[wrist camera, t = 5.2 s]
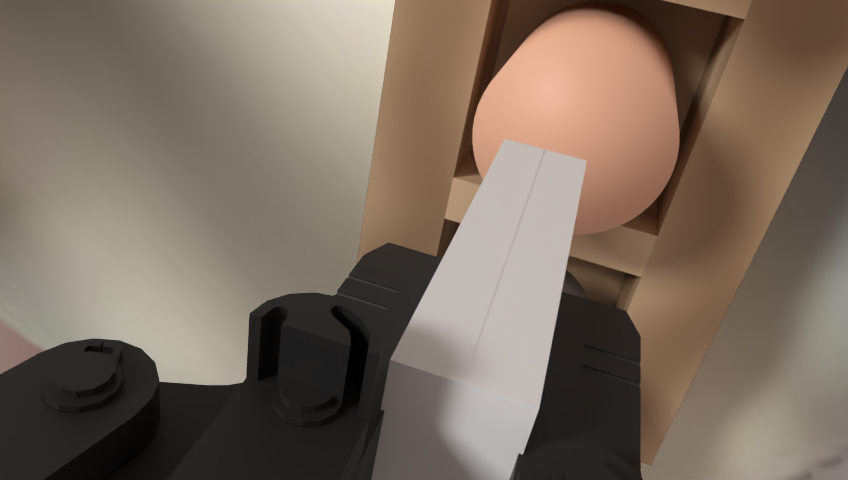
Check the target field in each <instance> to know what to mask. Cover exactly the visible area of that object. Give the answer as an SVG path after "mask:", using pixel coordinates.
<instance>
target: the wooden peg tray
mask: <svg viewBox="0 0 848 480" xmlns="http://www.w3.org/2000/svg"><path fill="white" fill-rule="evenodd" d="M592 1H597V2H609V3H615V4H618V5H621V6H625V7H627V8H629V9H631V10H633V11H635V12H637V13H638V14H640V15H642V16H643V17H644V18H646V19H647V20H648V21H649V22H650V23H651V24H652V25H653V26H654V27H655V28H656V29H657V31H658V32H659V33H660V35H661V36H662V38H663V39H664V41H665V43H666V45H667V48H668V50H669V53H670V56H671V60H672V66H673V74H674V84H675V93H676V103H677V113H678V122H679V132H680V134H679V150H678V157H677V161H676V164H675V167H674V170H673V173H672V175H671V177H670V179H669V181H668V183H667V185H666V186H665V188H664V189H663V191H662V192H661V194H660V195H659V196H658V197H657V198H656V200H655V201H654V202H653V203H652V204H651V205H650V206H649V207H648V208H647V209H645V210H644V211H643V212H642V213H641V214H639V215H638V216H636V217H635V218H633V219H632V220H630V221H628V222H626V223H624V224H622V225H620V226H618V227H615V228H612V229H610V230H607V231H602V232H598V233H593V234H584V235H572V241H571V246H570V251H569V256H568V261H567V267H566V270H567V271H568V272H570V273H571V274H572V275H573V276H574V277H575V278H576V279H577V280H578V282H579V283H580V284H581V286H582V287H583V289H584V291H585V292H586V294H587V296H588V299H589V300H592V301H595V302H599V303H602V304H605V305H609V306H612V307H615V308H619V309H622V310H625V311H627V313H628V315H629V317H630V318H631V320H632V322H633V324H634V325H635V327H636V329H637V331H638V332H639V334H640V336H641V362H640V367H641V383H640V387H639V388H641V442H640V462H643V463H646V464H649V465H651V463H652V461H653V459H654V457H655V455H656V453H657V451H658V449H659V447H660V445H661V443H662V441H663V439H664V437H665V435H666V433H667V431H668V429H669V427H670V425H671V423H672V421H673V419H674V417H675V415H676V413H677V411H678V409H679V407H680V405H681V403H682V401H683V399H684V397H685V395H686V393H687V391H688V389H689V387H690V385H691V383H692V380H693V378H694V376H695V374H696V372H697V370H698V368H699V366H700V364H701V362H702V360H703V358H704V356H705V354H706V352H707V350H708V348H709V346H710V344H711V342H712V340H713V338H714V336H715V334H716V332H717V330H718V328H719V326H720V324H721V322H722V320H723V318H724V316H725V314H726V312H727V310H728V308H729V306H730V304H731V302H732V299H733V297H734V295H735V293H736V291H737V289H738V287H739V285H740V283H741V281H742V279H743V277H744V275H745V273H746V271H747V269H748V267H749V265H750V263H751V261H752V259H753V257H754V255H755V253H756V251H757V249H758V247H759V245H760V243H761V241H762V239H763V237H764V235H765V233H766V231H767V229H768V227H769V225H770V223H771V221H772V218H773V216H774V214H775V212H776V210H777V208H778V206H779V204H780V202H781V200H782V198H783V196H784V194H785V192H786V190H787V188H788V186H789V184H790V182H791V180H792V178H793V176H794V174H795V172H796V170H797V168H798V166H799V164H800V162H801V160H802V158H803V156H804V154H805V152H806V150H807V148H808V146H809V144H810V142H811V140H812V137H813V135H814V133H815V131H816V129H817V127H818V125H819V123H820V121H821V119H822V117H823V115H824V113H825V111H826V109H827V107H828V105H829V103H830V101H831V99H832V97H833V95H834V93H835V91H836V89H837V87H838V85H839V83H840V81H841V79H842V77H843V75H844V73H845V71H846V69H847V67H848V0H395V7H394V13H393V20H392V27H391V34H390V41H389V48H388V54H387V61H386V68H385V75H384V82H383V89H382V95H381V102H380V109H379V116H378V123H377V130H376V137H375V143H374V150H373V157H372V164H371V171H370V178H369V184H368V191H367V198H366V205H365V212H364V219H363V226H362V232H361V239H360V246H359V253H358V260H357V263H358V262H359V261H360V259H361V258H362V256H363V255H364V254H366V253H368V252H370V251H372V250H374V249H376V248H378V247H380V246H382V245H384V244H386V243H388V242H389V243H393V244H396V245H399V246H403V247H406V248H409V249H413V250H416V251H419V252H423V253H426V254H430V255H433V256H436V257H440V258H443V257H444V255H445V253H446V251H447V249H448V247H449V245H450V243H451V241H452V239H453V237H454V235H455V233H456V232H457V230H458V228H459V226H460V224H461V222H462V220H463V218H464V216H465V214H466V212H467V210H468V208H469V206H470V205H471V203H472V201H473V199H474V197H475V195H476V193H477V191H478V189H479V187H480V185H481V183H482V181H483V179H482V178H481V175H480V173H479V170H478V168H477V165H476V161H475V157H474V152H473V143H472V135H473V124H474V117H475V114H476V111H477V107H478V104H479V102H480V100H481V98H482V95H483V93H484V92H485V90H486V88H487V87H488V85H489V84H490V82H491V81H492V80H493V79H494V77H495V76H496V75H497V74H498V72H499V71H500V70H501V69H502V68H503V66H504V65H505V64H506V63H507V61H508V60H509V59H510V58H511V57H512V55H513V54H514V53H515V52H516V50H517V49H518V48H519V47H520V46H521V44H522V43H523V42H524V41H525V39H526V38H527V37H528V36H529V35H530V33H531V32H532V31H533V30H534V28H535V27H536V26H538V25H539V24H540V23H541V22H542V21H543V20H544V19H546V18H547V17H548V16H550V15H551V14H553V13H555V12H557V11H558V10H560V9H563V8H565V7H568V6H570V5H574V4H578V3H583V2H592Z"/></svg>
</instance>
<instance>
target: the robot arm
mask: <svg viewBox="0 0 848 480" xmlns="http://www.w3.org/2000/svg"><path fill="white" fill-rule="evenodd" d="M586 163H587V161H586V160H583V159H579V158H575V157H571V156H568V155H564V154H560V153H556V152H553V151H549V150H545V149H542V148H538V147H534V146H530V145H527V144H523V143H519V142H515V141H512V140H508V139H504V141H503V143H502V145H501V147H500V149H499V151H498V153H497V154H496V156H495V158H494V160H493V162H492V164H491V166H490V168H489V170H488V172H487V174H486V176H485V178H484V180H483V181H482V183H481V185H480V187H479V189H478V191H477V193H476V195H475V197H474V199H473V201H472V203H471V205H470V206H469V208H468V210H467V212H466V214H465V216H464V218H463V220H462V222H461V224H460V226H459V228H458V230H457V232H456V233H455V235H454V237H453V239H452V241H451V243H450V245H449V247H448V249H447V251H446V253H445V255H444V257H443V258H440V257H436V256H433V255H430V254H426V253H423V252H419V251H416V250H413V249H409V248H406V247H403V246H399V245H396V244H393V243H389V242H388V243H386V244H384V245H382V246H380V247H378V248H376V249H374V250H372V251H370V252H368V253H366V254H364V255H363V256H362V258H361V259H360V261H359V262H358V263H357V265H356V266H355V267H354V269H353V270H352V272H351V273H350V274H349V278H346V280H345V281H344V282H343V284H342V285H341V287H340V288H339V289H338V291H337V294H336V295H334V296H330V295H325V294H320V293H298V294H288V295H285V296H281V297H278V298H275V299H272V300H269V301H266V302H265V303H263V304H262V305H261V306H259V307H258V308H257V309H255V310H254V311H253V312H251V313H250V317H249V337H248V357H247V377H246V379H245V381H244V382H243V383H239V384H233V385H195V384H181V383H168V382H159V377H158V373H157V369H156V364H155V362H154V361H153V360H152V359H151V358H150V357H149V356H148V355H147V354H146V353H145V352H144V351H143V350H142V349H140V348H138V347H135V346H133V345H130V344H127V343H125V342H122V341H118V340H106V339H87V340H81V341H74V342H68V343H64V344H61V345H59V346H56V347H54V348H51V349H49V350H46V351H44V352H41V353H39V354H37V355H35V356H33V357H31V358H30V359H28V360H26V361H24V362H22V363H20V364H19V365H17V366H15V367H13V368H11V369H9V370H8V371H6V372H4V373H2V374H0V480H643V479H642V478H641V471H640V442H641V388H639V387H640V383H641V367H640V362H641V336H640V334H639V332H638V331H637V329H636V327H635V325H634V324H633V322H632V320H631V318H630V317H629V315H628V313H627V311H625V310H622V309H619V308H615V307H612V306H609V305H605V304H602V303H599V302H595V301H592V300H589V299H585V298H582V297H579V296H575V295H572V294H569V293H565V292H562V287H563V282H564V277H565V272H566V267H567V261H568V256H569V251H570V246H571V241H572V235H573V230H574V225H575V220H576V215H577V209H578V204H579V199H580V194H581V189H582V183H583V178H584V173H585V168H586Z"/></svg>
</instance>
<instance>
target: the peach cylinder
mask: <svg viewBox="0 0 848 480" xmlns="http://www.w3.org/2000/svg"><path fill="white" fill-rule="evenodd" d="M679 134H680V132H679V122H678V113H677V103H676V93H675V84H674V74H673V66H672V60H671V56H670V53H669V50H668V48H667V45H666V43H665V41H664V39H663V38H662V36H661V35H660V33H659V32H658V31H657V29H656V28H655V27H654V26H653V25H652V24H651V23H650V22H649V21H648V20H647V19H646V18H644V17H643V16H642V15H640V14H638V13H637V12H635V11H633V10H631V9H629V8H627V7H625V6H621V5H618V4H615V3H609V2H597V1H592V2H583V3H578V4H574V5H570V6H568V7H565V8H563V9H560V10H558V11H557V12H555V13H553V14H551V15H550V16H548V17H547V18H546V19H544V20H543V21H542V22H541V23H540V24H539V25H538V26H536V27H535V28H534V30H533V31H532V32H531V33H530V35H529V36H528V37H527V38H526V39H525V41H524V42H523V43H522V44H521V46H520V47H519V48H518V49H517V50H516V52H515V53H514V54H513V55H512V57H511V58H510V59H509V60H508V61H507V63H506V64H505V65H504V66H503V68H502V69H501V70H500V71H499V72H498V74H497V75H496V76H495V77H494V79H493V80H492V81H491V82H490V84H489V85H488V87H487V88H486V90H485V92H484V93H483V95H482V98H481V100H480V102H479V104H478V107H477V111H476V114H475V117H474V124H473V135H472V143H473V152H474V157H475V161H476V165H477V168H478V170H479V173H480V175H481V178H482V179H483V180H484V178H485V176H486V174H487V172H488V170H489V168H490V166H491V164H492V162H493V160H494V158H495V156H496V154H497V153H498V151H499V149H500V147H501V145H502V143H503V141H504V139H508V140H512V141H515V142H519V143H523V144H527V145H530V146H534V147H538V148H542V149H545V150H549V151H553V152H556V153H560V154H564V155H568V156H571V157H575V158H579V159H583V160H586V161H587V163H586V168H585V173H584V178H583V183H582V189H581V194H580V199H579V204H578V209H577V215H576V220H575V225H574V230H573V235H584V234H593V233H598V232H602V231H607V230H610V229H612V228H615V227H618V226H620V225H622V224H624V223H626V222H628V221H630V220H632V219H633V218H635V217H636V216H638V215H639V214H641V213H642V212H643V211H644V210H645V209H647V208H648V207H649V206H650V205H651V204H652V203H653V202H654V201H655V200H656V198H657V197H658V196H659V195H660V194H661V192H662V191H663V189H664V188H665V186H666V185H667V183H668V181H669V179H670V177H671V175H672V173H673V170H674V167H675V164H676V161H677V157H678V150H679Z"/></svg>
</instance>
